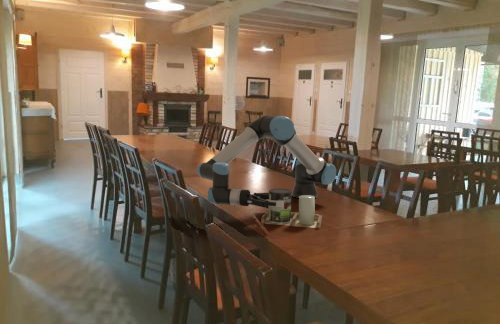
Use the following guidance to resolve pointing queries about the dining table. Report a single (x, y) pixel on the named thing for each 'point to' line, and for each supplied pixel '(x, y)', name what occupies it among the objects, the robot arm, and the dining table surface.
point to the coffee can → (279, 213)
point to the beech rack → (293, 220)
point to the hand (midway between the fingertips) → (286, 200)
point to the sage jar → (307, 210)
